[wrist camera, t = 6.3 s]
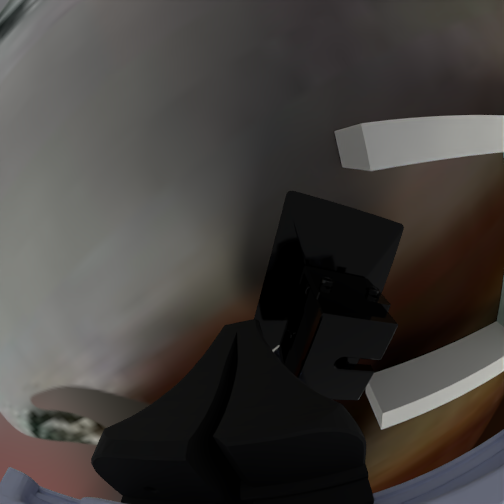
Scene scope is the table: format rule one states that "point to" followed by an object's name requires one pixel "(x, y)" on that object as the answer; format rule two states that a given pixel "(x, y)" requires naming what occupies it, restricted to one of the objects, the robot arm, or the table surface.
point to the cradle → (500, 332)
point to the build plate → (329, 293)
